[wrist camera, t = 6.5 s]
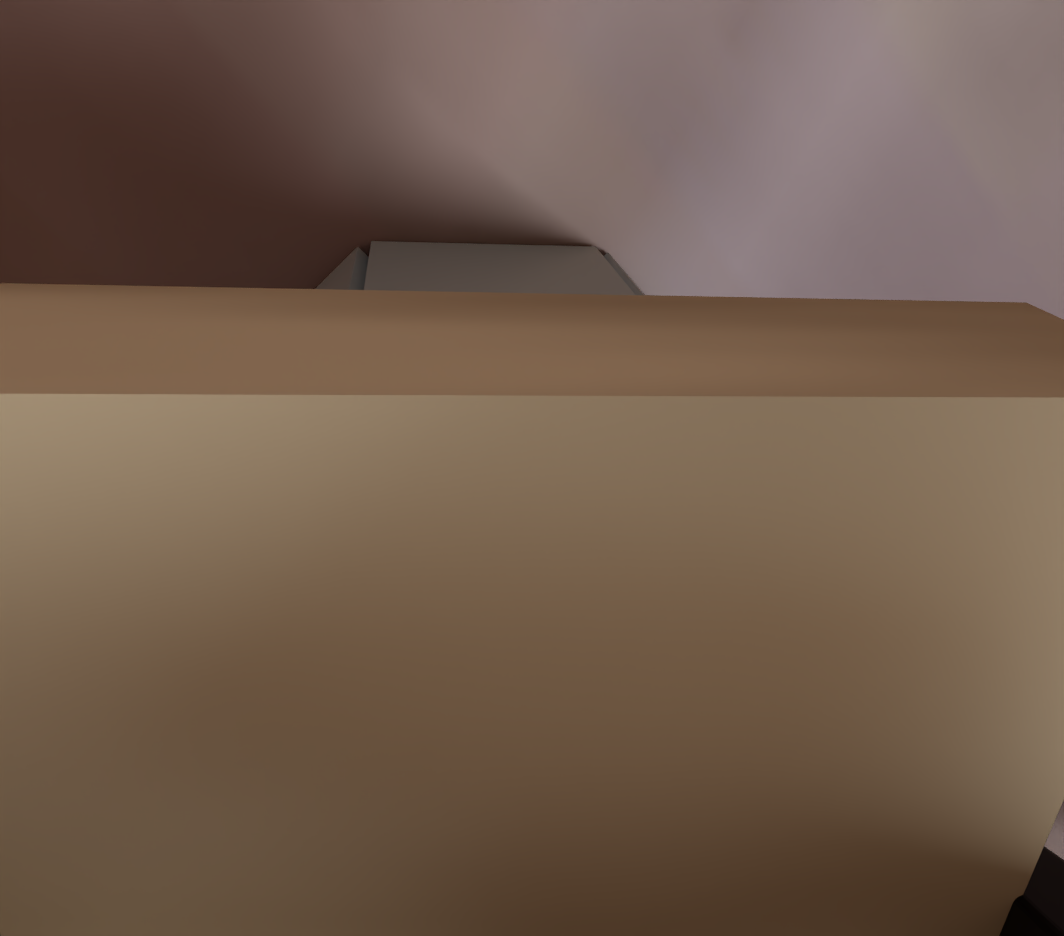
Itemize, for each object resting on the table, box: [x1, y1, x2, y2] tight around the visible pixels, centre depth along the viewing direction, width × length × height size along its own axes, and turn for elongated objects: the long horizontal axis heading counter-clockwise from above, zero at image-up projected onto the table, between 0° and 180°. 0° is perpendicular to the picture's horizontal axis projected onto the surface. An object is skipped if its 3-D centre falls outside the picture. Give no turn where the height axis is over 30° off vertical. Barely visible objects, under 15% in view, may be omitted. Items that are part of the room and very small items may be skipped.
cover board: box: [0, 283, 1064, 936], centre depth 8 cm, size 10×8×2 cm
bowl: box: [315, 241, 645, 295], centre depth 12 cm, size 8×8×5 cm
